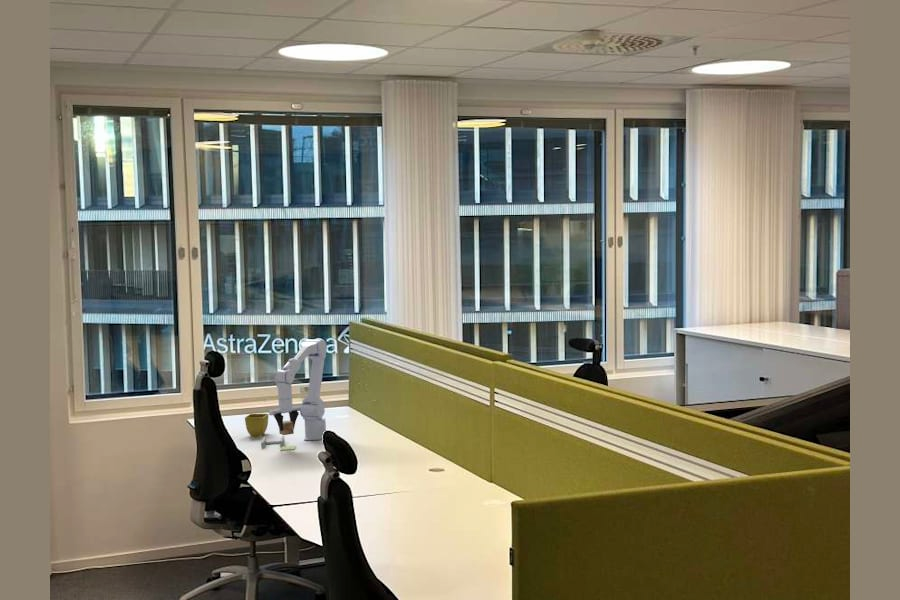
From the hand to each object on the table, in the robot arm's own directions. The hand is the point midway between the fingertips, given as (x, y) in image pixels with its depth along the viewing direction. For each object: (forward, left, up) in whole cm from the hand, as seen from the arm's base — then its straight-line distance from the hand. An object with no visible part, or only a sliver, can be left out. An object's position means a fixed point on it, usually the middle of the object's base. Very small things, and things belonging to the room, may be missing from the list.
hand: (286, 429), depth 391 cm
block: (0, 0, -2) cm, 2 cm away
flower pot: (+16, -31, -8) cm, 35 cm away
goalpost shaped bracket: (+7, -9, -8) cm, 14 cm away
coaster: (0, 0, -8) cm, 8 cm away
